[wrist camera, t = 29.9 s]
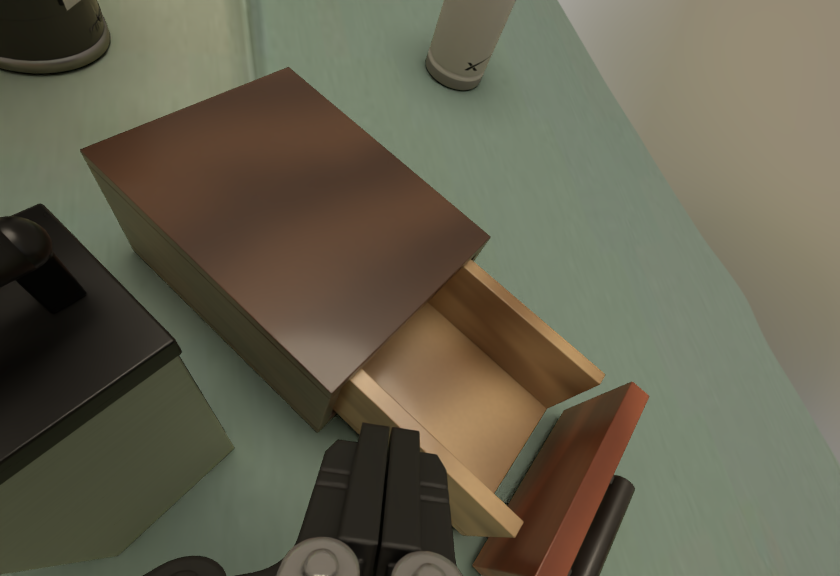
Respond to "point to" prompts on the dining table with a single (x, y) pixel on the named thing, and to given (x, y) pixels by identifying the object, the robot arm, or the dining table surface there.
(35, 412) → the grater
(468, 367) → the drawer
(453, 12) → the travel mug
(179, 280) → the cabinet
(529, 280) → the dining table surface
